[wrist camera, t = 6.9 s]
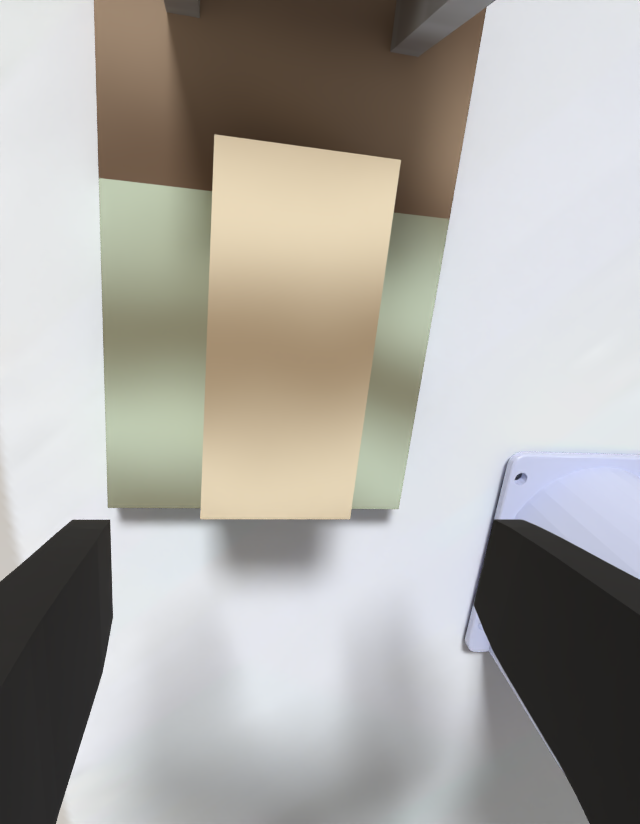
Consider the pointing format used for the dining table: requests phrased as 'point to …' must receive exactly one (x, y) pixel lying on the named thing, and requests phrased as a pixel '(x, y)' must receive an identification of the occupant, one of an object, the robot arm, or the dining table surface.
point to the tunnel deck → (192, 197)
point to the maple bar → (291, 325)
